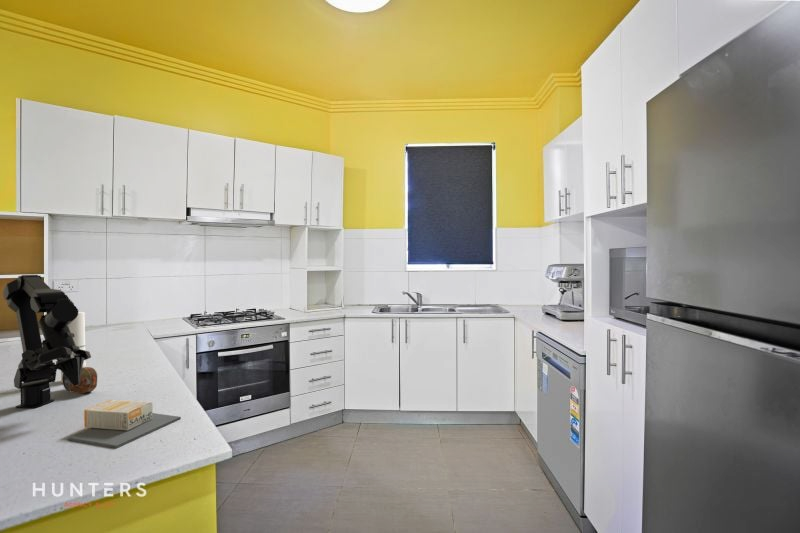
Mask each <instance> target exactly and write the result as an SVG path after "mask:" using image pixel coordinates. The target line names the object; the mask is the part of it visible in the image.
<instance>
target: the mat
mask: <svg viewBox="0 0 800 533" xmlns="http://www.w3.org/2000/svg"><path fill="white" fill-rule="evenodd" d="M181 419H182V418H181V416H177V415H170V414H162V413H155V412H152V419H151V420H148V421H146V422H144V423H142V424H140V425H138V426H136V427H134V428H132V429H130V430H114V429H100V428H88V429H86V430H84V431H81V432H79V433H76V434H74V435H71V436H68V439H67V440H68V441H74V442H80V443H85V444H91V445H96V446H101V447H108V448H114V449H118V448H121V447H122V446H125V445H127V444H129V443H131V442H134V441H135V440H138V439H140V438H142V437H144V436H146V435H149V434H151V433H153V432H156V431H158V430H159V429H163V428H164V427H166V426H168V425H171V424H172V423H174V422H177V421H180V420H181Z"/></svg>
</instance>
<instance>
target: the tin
mask: <svg viewBox="0 0 800 533" xmlns="http://www.w3.org/2000/svg"><path fill="white" fill-rule="evenodd" d="M62 381H63V383H62V384H63V387H64V389H65V391H66V392H70V391H71V393H76V392H78V394H86V393H87V394H88V393H89V392H90V393H91V392H93V391H94V390H95V389H96V388H97V387H98V386H97V384H98V373H97V371H96V369H94V367H90V366H86V367H82V372H81V378H80V384H79V385H77V386H74V385H73V384H72V383H71V382H70V380H69V379H68V378H67V377H66V376H65V374H64V373H63V377H62Z"/></svg>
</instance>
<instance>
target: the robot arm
mask: <svg viewBox="0 0 800 533" xmlns="http://www.w3.org/2000/svg"><path fill="white" fill-rule="evenodd" d="M2 294H3V299H4V300H5V301H6V303H7V307H8V308H9V309H11V311H13V312H14V313H15V314H16V319H17V325H18V330H19V337H20V343H21V347H22V353H21V360H20V362H19V363H18V366H17V370H16V371H15V375H14V377H13V378H14V379H13V384H14V387H15V389H16V388H17V390H20V404H18V405H15V408H16V409H17V408H18V409H19V408H21V409H23V408H24V409H35V408H38V407H42V406H43V405H46V404H50V403H52V402H54V401H55V399H54V398H51V387H50V383H55V381H56V378H57V377H56V376H57V370H59V371H60V372H61V371H62V372H63V373H64V374H65V376H66V377H67V378H68V379H69V380H70V382H71V383H72V384H73V385H74V386H77V385H79V384H80V378H81V372H82V367H83V362H84V360H86V361H87V360H88V359H91V358H92V355H91V353H90V351H88V350H86V351H85V350H80V349H79V347H78V346H76V345H75V342H74V340H73V337H75V336H74V334H73V333H71V332H70V329H69V327H68V325H69V324H70V323H71V322H72V321H73V320H74V319H75V318H76V317H77V316H78V312H79V309H78V308H77V306H76V305H75V303H74V301H72V300H71V299H70V297H69V296H68V295H67V294H66V293H65V291H62V290H61V289H56V288H52V287H50V286H49V285H48V284H47V283H46V282H45V281H44V280H43V279H42V276H41V275H38V274H22V275H18V276H17V278H16V279H14V280H12V281H10V282H8V283H6V285H5V287H4V288H3V293H2ZM41 313H45V314H44V315H40V318H39V320H38V316H37V314H41ZM40 330H41V333H42V336H43V338H44V339H42V338H41V337H42V336H41V333H40ZM55 360H56V361H55ZM53 361H55V362H53Z"/></svg>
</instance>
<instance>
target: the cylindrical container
mask: <svg viewBox="0 0 800 533" xmlns="http://www.w3.org/2000/svg"><path fill="white" fill-rule="evenodd" d="M68 327H69V329H70V332H71V333H73V334H74V336H75V337H73V340H74V342H75V345H76V346H78V347H79V349H80V350H85V351H87V350H86V313H85V311H78V316H77V317H76V318H75V319H74V320H73V321H72V322H71V323H70V324H69V325H68ZM86 361H87V359H86V360H84V362H83V367H87V362H86ZM60 377H61V378H60V380H61V381H60V382H61V384H63V381H62V377H63V372H62V371H61V370H60Z"/></svg>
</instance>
